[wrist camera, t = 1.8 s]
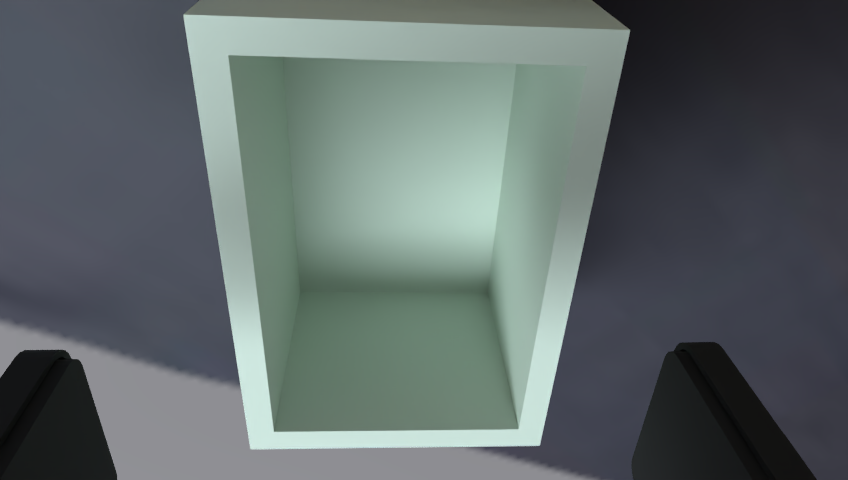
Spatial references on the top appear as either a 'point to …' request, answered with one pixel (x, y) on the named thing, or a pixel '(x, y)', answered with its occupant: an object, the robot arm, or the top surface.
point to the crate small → (401, 208)
